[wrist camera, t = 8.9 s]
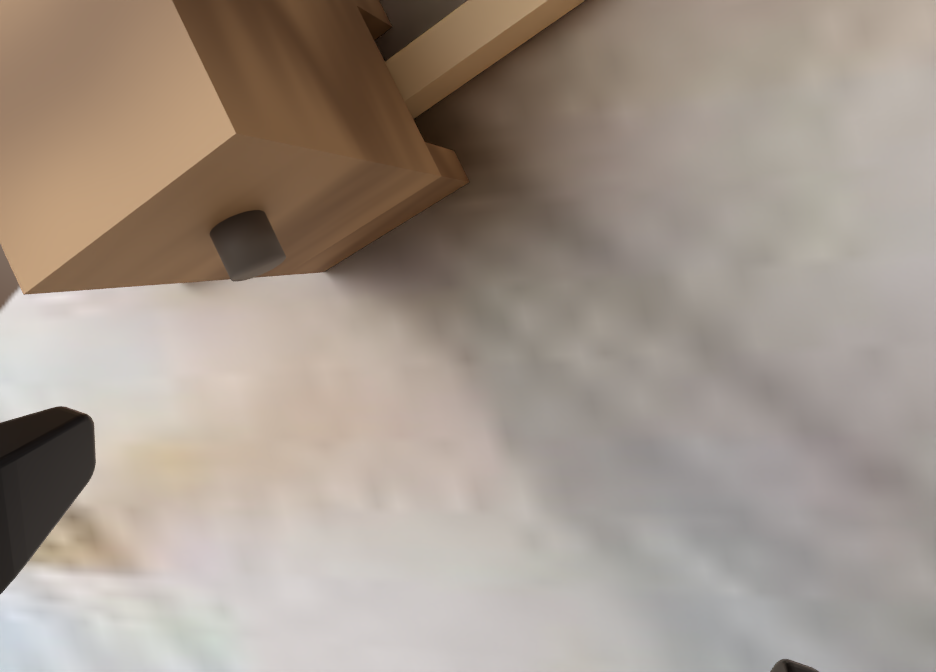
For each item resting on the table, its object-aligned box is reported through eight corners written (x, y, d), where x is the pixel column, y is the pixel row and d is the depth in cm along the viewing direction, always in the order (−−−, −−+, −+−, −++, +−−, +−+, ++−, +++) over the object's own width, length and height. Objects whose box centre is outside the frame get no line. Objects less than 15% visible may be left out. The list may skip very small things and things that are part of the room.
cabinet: (485, 213, 20) (264, 191, 11) (337, 301, 22) (46, 343, 13) (376, -4, 21) (74, -203, 11) (241, 101, 23) (-108, 6, 13)
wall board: (671, -59, 18) (600, -325, 9) (140, 307, 25) (-161, 341, 17) (553, -277, 18) (386, -720, 10) (64, 148, 26) (-266, 104, 17)
